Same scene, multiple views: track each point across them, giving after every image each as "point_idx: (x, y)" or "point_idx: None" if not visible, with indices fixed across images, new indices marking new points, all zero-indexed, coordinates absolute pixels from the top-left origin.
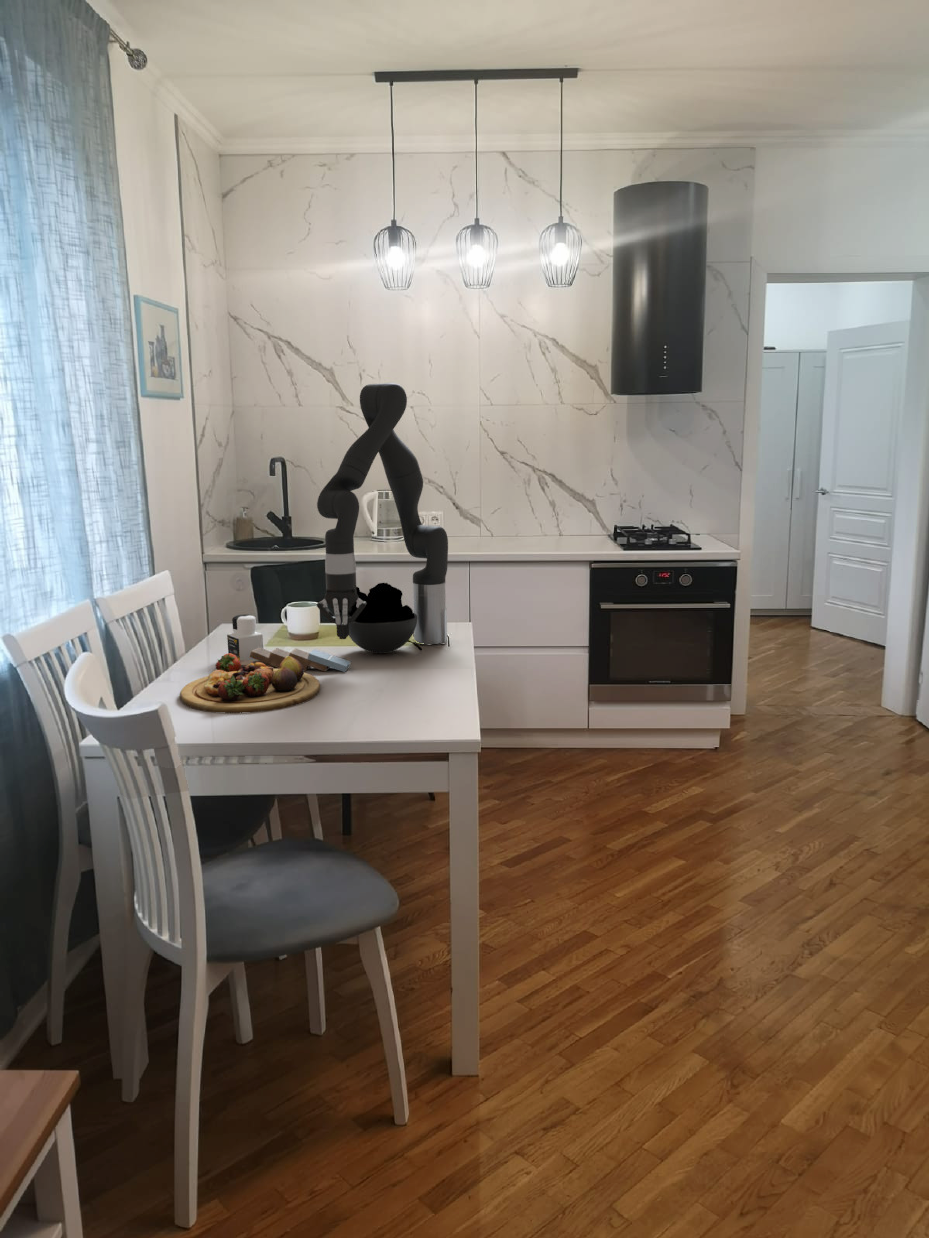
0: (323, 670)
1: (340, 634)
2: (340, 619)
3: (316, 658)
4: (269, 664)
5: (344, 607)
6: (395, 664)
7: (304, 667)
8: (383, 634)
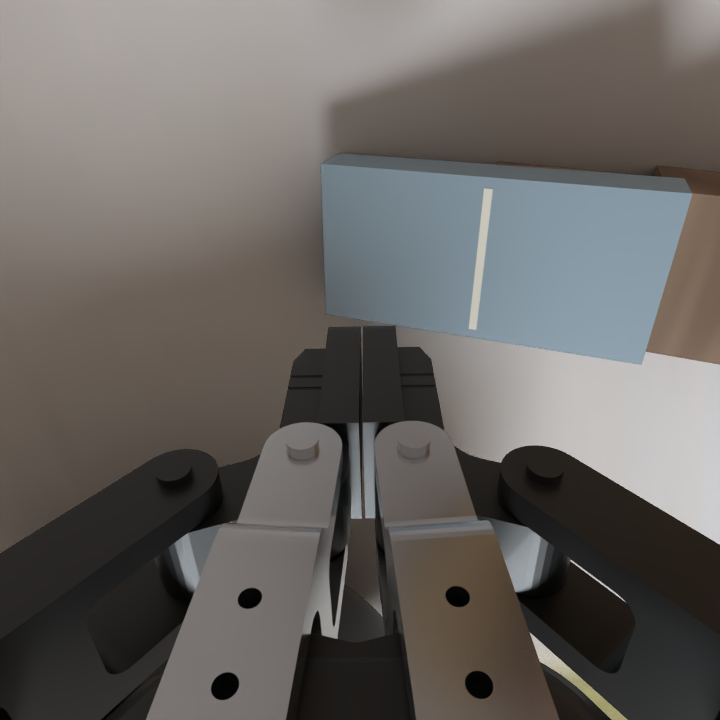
0: (513, 163)
1: (381, 346)
2: (379, 490)
3: (600, 181)
4: None
5: (241, 691)
6: (59, 378)
7: (677, 174)
8: (108, 598)
